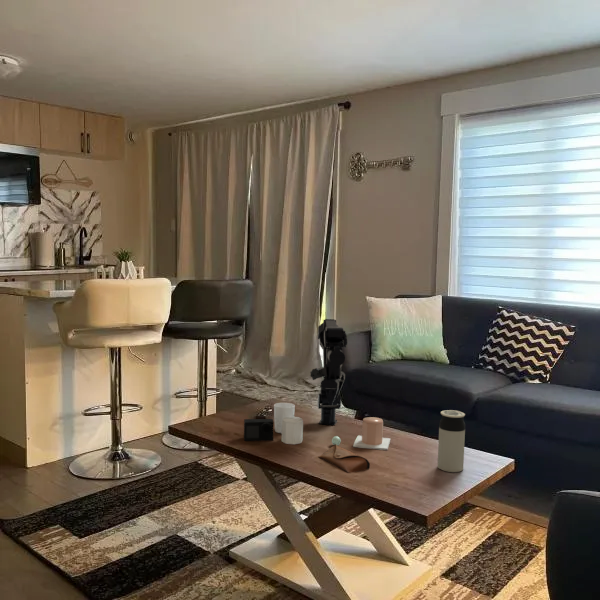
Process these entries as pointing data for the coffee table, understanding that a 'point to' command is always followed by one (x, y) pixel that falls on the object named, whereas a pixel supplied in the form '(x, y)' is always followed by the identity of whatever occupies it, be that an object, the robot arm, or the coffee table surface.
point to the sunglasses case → (345, 459)
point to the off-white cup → (292, 430)
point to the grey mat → (382, 446)
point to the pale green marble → (336, 440)
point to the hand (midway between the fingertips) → (332, 402)
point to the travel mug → (451, 441)
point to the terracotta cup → (372, 431)
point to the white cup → (282, 414)
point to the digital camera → (258, 429)
